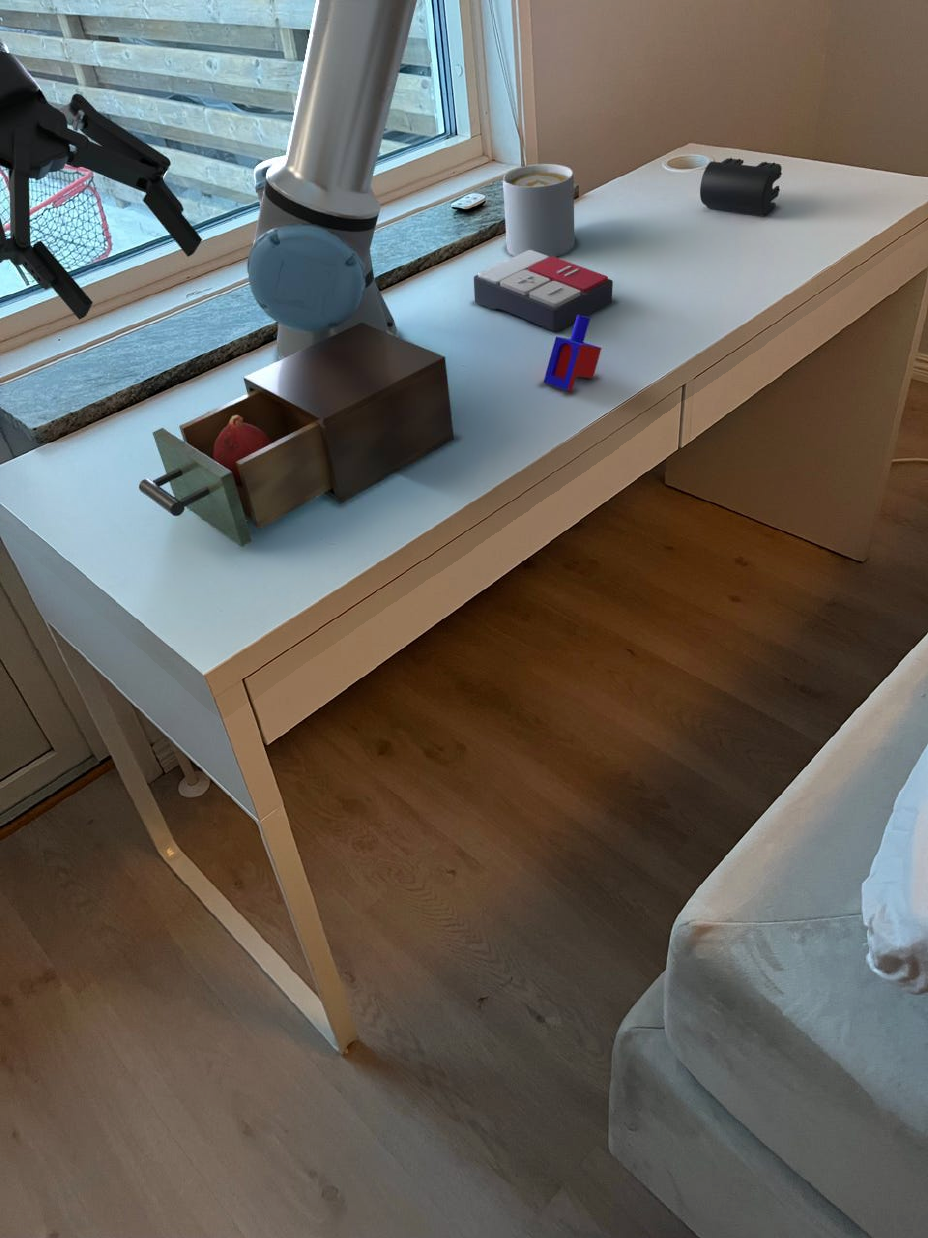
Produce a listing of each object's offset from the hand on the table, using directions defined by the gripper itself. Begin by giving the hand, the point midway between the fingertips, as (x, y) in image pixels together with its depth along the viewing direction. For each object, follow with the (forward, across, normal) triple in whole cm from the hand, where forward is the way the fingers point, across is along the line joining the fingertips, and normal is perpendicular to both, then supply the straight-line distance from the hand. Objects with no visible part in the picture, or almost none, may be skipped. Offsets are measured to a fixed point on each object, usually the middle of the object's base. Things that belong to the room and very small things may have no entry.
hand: (143, 278), depth 90 cm
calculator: (+26, +49, +6) cm, 56 cm away
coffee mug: (+20, +68, +15) cm, 72 cm away
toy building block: (+34, +33, -5) cm, 48 cm away
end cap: (+34, +89, 0) cm, 95 cm away
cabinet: (+25, +10, +4) cm, 27 cm away
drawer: (+22, -4, +5) cm, 23 cm away
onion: (+21, -3, +4) cm, 22 cm away
